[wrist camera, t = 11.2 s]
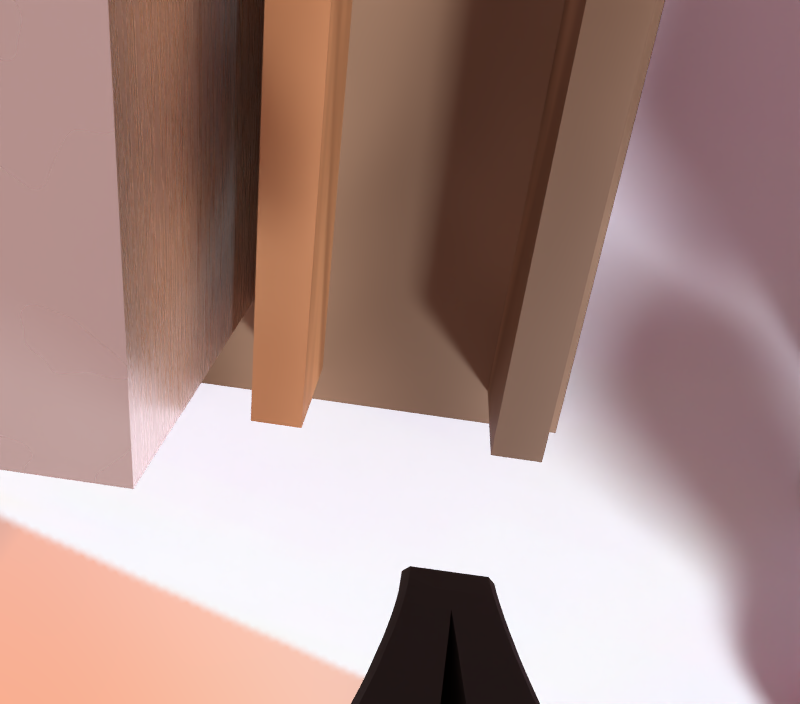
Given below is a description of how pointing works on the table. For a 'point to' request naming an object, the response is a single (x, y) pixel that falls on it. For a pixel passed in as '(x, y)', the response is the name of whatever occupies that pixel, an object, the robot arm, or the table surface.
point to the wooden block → (120, 221)
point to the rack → (434, 204)
